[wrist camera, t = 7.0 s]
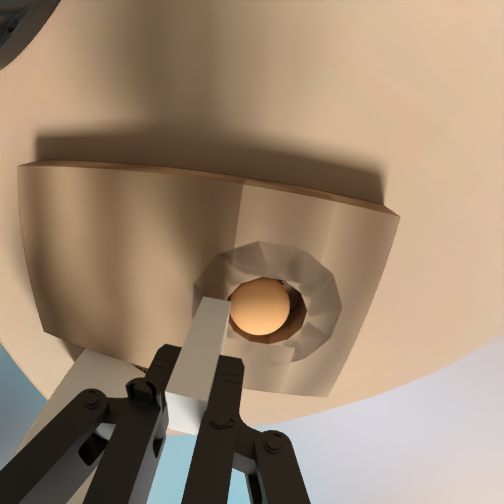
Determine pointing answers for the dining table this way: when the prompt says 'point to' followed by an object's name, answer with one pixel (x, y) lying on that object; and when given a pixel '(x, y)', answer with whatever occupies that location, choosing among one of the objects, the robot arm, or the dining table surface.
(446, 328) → the dining table surface
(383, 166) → the dining table surface
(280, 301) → the ball
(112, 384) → the milk carton
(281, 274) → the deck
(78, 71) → the dining table surface
